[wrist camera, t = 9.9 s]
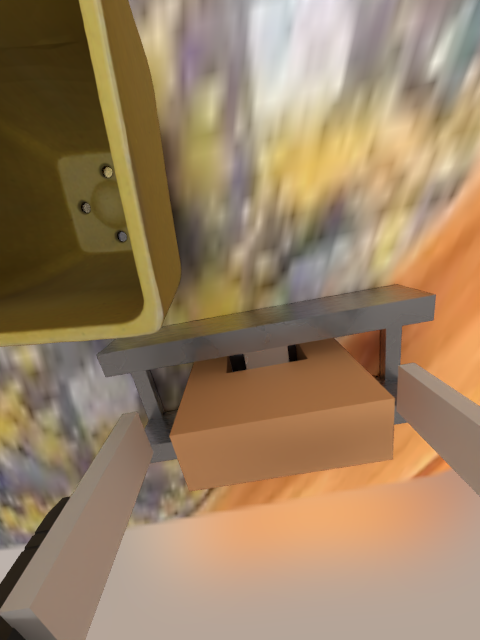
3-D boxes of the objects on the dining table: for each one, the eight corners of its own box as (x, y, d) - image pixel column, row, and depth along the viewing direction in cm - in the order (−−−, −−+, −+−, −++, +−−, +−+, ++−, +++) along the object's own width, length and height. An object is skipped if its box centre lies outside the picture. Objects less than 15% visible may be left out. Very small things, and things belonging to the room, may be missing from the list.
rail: (157, 429, 18) (142, 464, 15) (121, 334, 15) (96, 355, 13) (393, 390, 17) (424, 419, 14) (397, 284, 15) (435, 294, 12)
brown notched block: (207, 394, 17) (189, 491, 10) (196, 355, 16) (169, 436, 9) (330, 372, 17) (393, 459, 10) (327, 331, 16) (394, 398, 9)
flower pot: (205, 281, 15) (164, 338, 6) (65, 292, 15) (-175, 364, 6) (184, 105, 12) (49, -261, 3) (10, 119, 12) (-588, -206, 3)
